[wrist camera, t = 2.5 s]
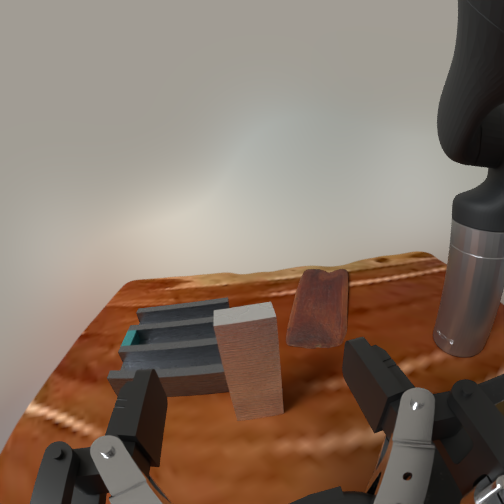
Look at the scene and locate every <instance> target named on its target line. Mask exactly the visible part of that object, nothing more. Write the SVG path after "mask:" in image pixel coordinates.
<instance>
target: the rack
mask: <svg viewBox="0 0 504 504" xmlns="http://www.w3.org/2000/svg"><path fill="white" fill-rule="evenodd" d="M227 308H230V307H229V301H228V298H221V299H214V300H206V301H199V302H191V303H183V304H175V305H167V306H158V307H150V308H140V309H138V311H137V316H138V319H139V322H140V324H139V325H131V326H130V328H129V330H128V332H127V334H126V336H125V338H124V340H123V343H122V345H121V347H120V349H119V352H118V353H119V355H120V357H121V359H122V361H123V365H122V367H121V370H120V371H110V372H109V375H108V377H107V379H108V381H109V383H110V385H111V386H112V388H113V390H114V391H115V393H116V395H117V396H118V395H119V392H120V389H121V388H122V387H123V386H124V385H125V383H126V382H127V381H133V378H134V375H135V372H136V370H138V369H155V370H156V372H157V375H158V377H159V379H160V382H161V384H162V386H163V389H164V391H165V393H166V397H173V396H189V395H202V394H213V393H222V392H229V388H228V384H227V380H226V376H225V372H224V368H223V364H222V360H221V356H220V352H219V348H218V344H217V339H216V335H215V331H214V326H213V325H214V310H220V309H227Z"/></svg>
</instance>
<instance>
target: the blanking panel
mask: <svg viewBox="0 0 504 504" xmlns="http://www.w3.org/2000/svg"><path fill="white" fill-rule="evenodd" d="M213 326H214V331H215V335H216V339H217V344H218V348H219V352H220V356H221V360H222V364H223V368H224V372H225V376H226V380H227V384H228V388H229V392H230V395H231V399H232V403H233V406H234V410H235V414H236V417H237V421H241V420H249V419H256V418H262V417H268V416H274V415H279V414H284V410H283V396H282V382H281V369H280V356H279V344H278V332H277V320H276V315H275V312H274V309H273V307H272V304H271V302H266V303H260V304H254V305H247V306H241V307H234V308H227V309H220V310H214V325H213Z"/></svg>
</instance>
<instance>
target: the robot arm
mask: <svg viewBox="0 0 504 504" xmlns="http://www.w3.org/2000/svg"><path fill="white" fill-rule="evenodd" d="M437 128H438V136H439V141H440V144H441V146H442V149H443V151H444V152H445V154H446V155H447V156H448V157H449V158H450V159H451V160H453V161H455V162H458V163H460V164H464V165H471V166H479V167H487V168H488V175H487V178H486V180H485V181H484V182H483V183H482V184H481V185H479V186H478V187H476V188H474V189H472V190H469V191H466V192H463V193H460V194H458V195H456V196H455V198H454V200H453V205H452V225H451V226H452V227H451V237H450V247H449V256H448V263H447V270H446V276H445V282H444V287H443V293H442V297H441V302H440V307H439V311H438V315H437V319H436V323H435V327H434V331H433V338H434V341H435V343H436V344H437V345H438V346H439V348H441V349H442V350H443V351H445V352H447V353H448V354H451V355H454V356H458V357H470V356H474V355H476V354H478V353H479V352H480V351H481V350H482V349H483V347H484V345H485V342H486V340H487V338H488V337H489V334H490V331H491V329H492V326H493V323H494V320H495V317H496V314H497V310H498V307H499V304H500V300H501V296H502V293H503V289H504V0H458V28H457V38H456V45H455V51H454V56H453V60H452V63H451V67H450V70H449V73H448V76H447V79H446V82H445V85H444V88H443V92H442V95H441V98H440V102H439V108H438V116H437ZM342 371H343V376H344V379H345V381H346V383H347V385H348V386H349V388H350V390H351V392H352V394H353V395H354V397H355V399H356V401H357V403H358V404H359V406H360V408H361V410H362V412H363V413H364V415H365V417H366V419H367V421H368V423H369V424H370V426H371V428H372V430H373V432H374V433H377V432H380V431H382V430H383V431H384V432H385V434H386V435H385V438H384V441H383V444H382V448H381V451H380V454H379V457H378V460H377V463H376V466H375V469H374V472H373V474H372V477H371V479H370V481H369V483H368V485H367V487H366V490H365V492H356V491H345V492H342V489H341V487H340V486H339V487H336V488H332V489H329V490H325V491H322V492H318V493H314V494H310V495H308V496H306V497H304V498H301V499H299V500H297V501H294V502H292V503H290V504H424V500H425V497H426V493H427V489H428V484H429V480H430V475H431V470H432V465H433V459H434V453H435V446H436V448H437V449H438V451H439V453H440V455H441V456H442V458H443V460H444V462H445V464H446V465H447V467H448V469H449V471H450V473H451V474H452V476H453V478H454V480H455V482H456V484H457V486H458V488H459V490H460V492H461V493H462V495H463V498H462V499H461V502H460V504H504V416H503V415H502V414H501V412H500V411H499V410H498V409H497V407H496V406H495V405H494V404H493V402H492V401H491V400H490V399H489V398H488V396H487V395H486V394H485V393H484V392H483V390H482V389H481V388H480V387H479V386H478V385H477V384H476V383H475V382H473V381H471V380H466V379H465V380H460V381H457V382H456V383H455V384H454V385H453V387H452V389H451V391H448V392H443V393H437V394H432V393H431V392H430V391H428V390H426V389H423V388H415V387H414V385H413V384H412V383H411V382H410V380H409V379H408V378H407V377H406V375H405V374H404V373H403V372H402V370H401V369H400V368H399V367H398V366H396V363H395V362H394V361H393V359H391V357H390V356H389V354H388V353H387V352H386V351H385V350H384V349H382V348H380V347H378V346H377V345H374V346H370V344H369V343H368V342H367V341H366V339H365V338H364V337H360V338H356V339H352V340H349V341H346V343H345V348H344V357H343V366H342ZM166 412H167V397H166V393H165V391H164V389H163V386H162V384H161V382H160V379H159V377H158V375H157V372H156V370H155V369H138V370H136V372H135V375H134V378H133V381H127V382H126V383H125V385H124V386H123V387H122V388H121V389H120V392H119V395H118V397H117V400H116V403H115V408H114V409H113V412H112V415H111V418H110V422H109V425H108V428H107V431H106V434H105V436H102V437H99V438H98V439H96V440H95V441H94V442H93V444H92V445H91V447H87V448H80V449H72V448H71V447H70V446H69V445H68V444H67V443H65V442H61V441H58V442H54V443H52V444H50V445H49V446H48V447H47V449H46V450H45V453H44V456H43V459H42V462H41V465H40V468H39V472H38V475H37V478H36V482H35V486H34V489H33V493H32V497H31V501H30V504H105V503H106V494H107V493H110V494H111V497H109V500H110V503H111V504H173V503H172V502H171V501H170V499H169V498H168V497H167V496H166V495H165V493H164V492H163V491H162V490H161V488H160V487H159V486H158V485H157V483H156V482H155V481H154V479H153V478H152V477H151V475H150V474H149V472H150V466H152V467H159V466H160V457H161V448H162V441H163V433H164V426H165V419H166ZM464 428H465V429H464ZM466 431H467V432H468V433H467V432H466ZM468 434H469V435H470V436H469V435H468ZM470 437H471V438H472V439H471V438H470ZM472 440H473V441H472ZM431 441H433V442H434V444H435V445H434V444H431Z"/></svg>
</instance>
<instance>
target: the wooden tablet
mask: <svg viewBox="0 0 504 504" xmlns="http://www.w3.org/2000/svg"><path fill="white" fill-rule="evenodd" d="M347 305H348V273H347V271H346V270H345V269H339V270H335V271H333V272H330V273H328V272H326V271H323V270H319V269H308V270H306V271H304V273H303V275H302V277H301V279H300V282H299V285H298V288H297V291H296V294H295V299H294V303H293V307H292V311H291V316H290V319H289V324H288V329H287V334H286V343H287V344H288V345H290V346H296V347H304V348H316V347H320V348H330V347H335V346H339V345H341V344H342V342H343V340H344V338H345V335H346V332H347Z"/></svg>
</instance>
